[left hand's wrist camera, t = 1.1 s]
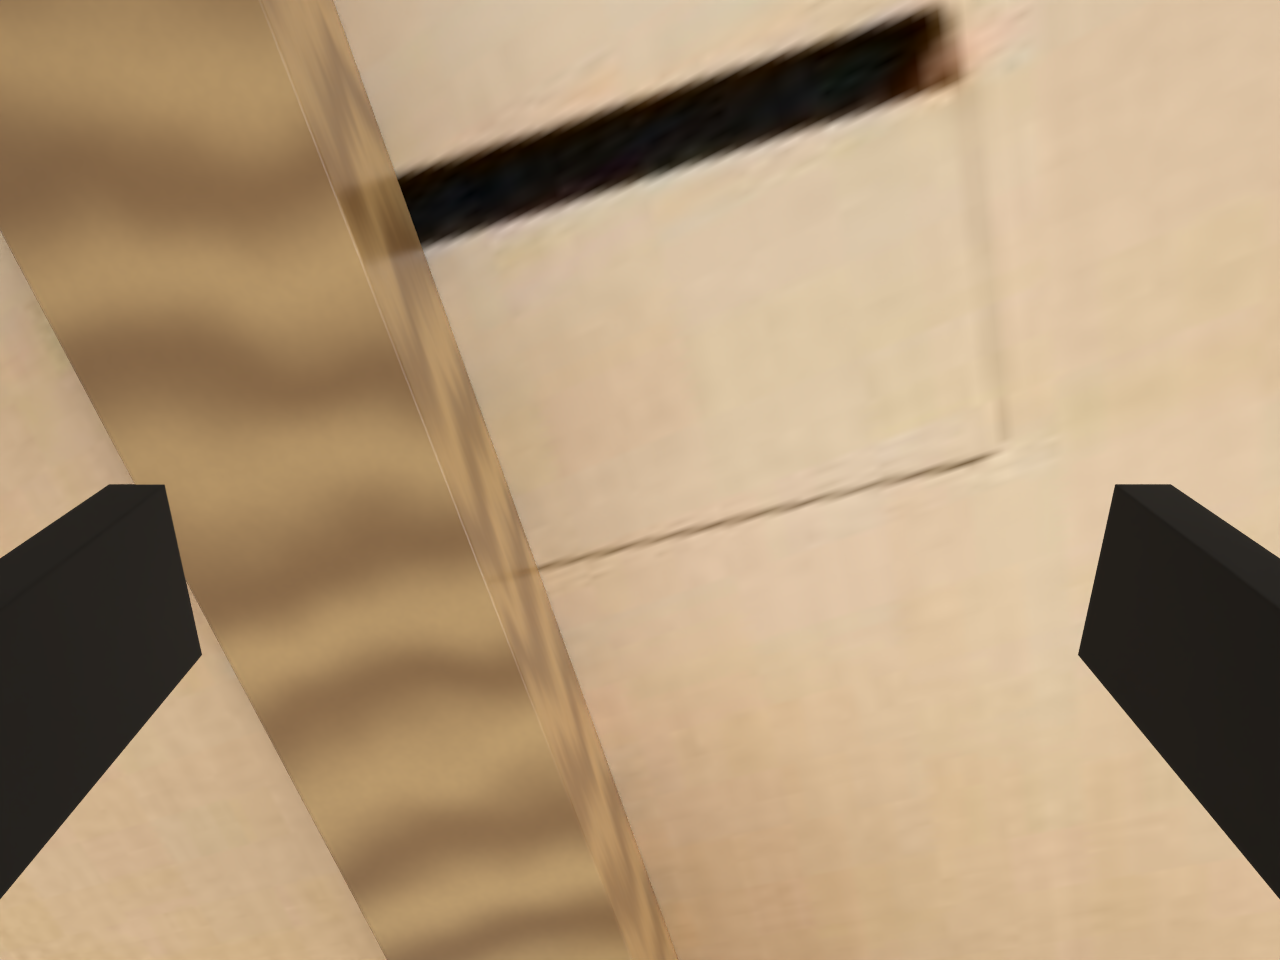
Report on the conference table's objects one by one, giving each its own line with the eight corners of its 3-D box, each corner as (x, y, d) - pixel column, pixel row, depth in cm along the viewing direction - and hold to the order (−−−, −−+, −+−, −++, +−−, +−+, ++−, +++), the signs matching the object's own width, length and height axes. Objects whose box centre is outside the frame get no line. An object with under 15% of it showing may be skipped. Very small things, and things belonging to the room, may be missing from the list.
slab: (-89, -246, 26) (-315, -361, 20) (205, -356, 25) (63, -512, 19) (612, 1232, 52) (608, 1378, 46) (766, 1206, 51) (784, 1352, 45)
